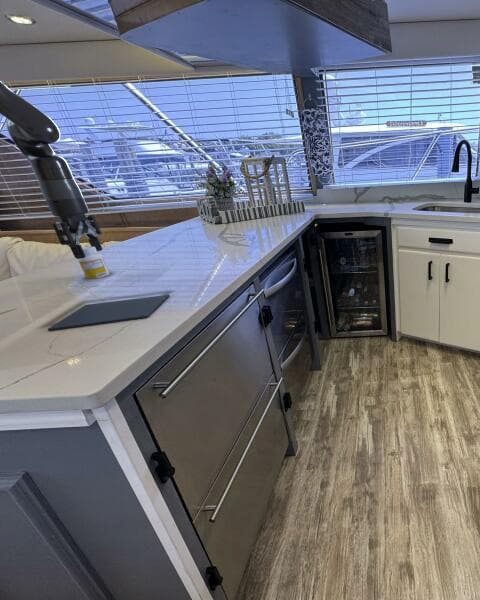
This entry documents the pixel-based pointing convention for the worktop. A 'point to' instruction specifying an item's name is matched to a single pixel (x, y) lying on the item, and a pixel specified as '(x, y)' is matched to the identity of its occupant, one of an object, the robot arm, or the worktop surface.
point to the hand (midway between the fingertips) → (90, 254)
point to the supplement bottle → (93, 264)
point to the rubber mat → (111, 312)
